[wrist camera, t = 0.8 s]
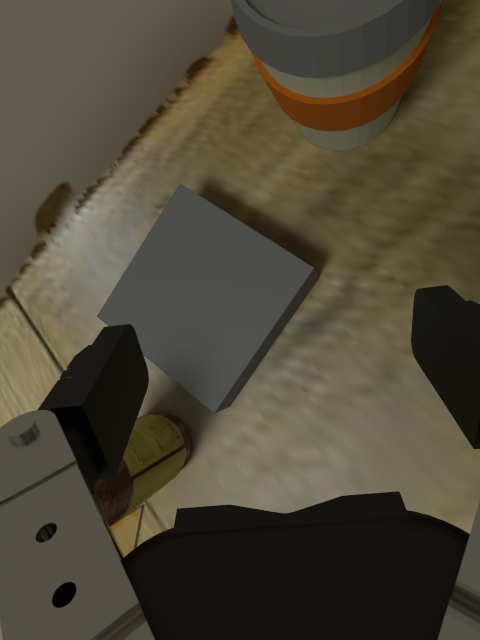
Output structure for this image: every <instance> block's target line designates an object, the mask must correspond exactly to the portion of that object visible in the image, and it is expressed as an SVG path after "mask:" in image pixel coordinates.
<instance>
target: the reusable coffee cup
mask: <svg viewBox="0 0 480 640" xmlns="http://www.w3.org/2000/svg"><path fill="white" fill-rule="evenodd" d="M441 2H442V0H231V3H232V7H233V11H234V15H235V19H236V22H237V25H238V28H239V31H240V34H241V37H242V38H243V40H244V41H245V43H246V44H247V46H248V47H249V49H250V50H251V52H252V54H253V57H254V59H255V62H256V65H257V68H258V69H259V71H260V73H261V75H262V76H263V78H264V80H265V81H266V83H267V85H268V87H269V88H270V90H271V92H272V93H273V95H274V97H275V99H276V100H277V102H278V103H279V105H280V107H281V108H282V110H283V111H284V112H285V113H286V114H287V115H288V116H289V117H290V118H291V119H292V120H294V121H295V123H296V125H297V127H298V129H299V130H300V132H301V133H302V135H303V136H304V137H305V138H306V139H307V140H308V141H309V142H311V143H312V144H314V145H316V146H317V147H320V148H323V149H326V150H333V151H342V150H349V149H353V148H357V147H359V146H362V145H364V144H366V143H368V142H370V141H371V140H373V139H374V138H376V137H377V136H378V135H379V134H380V133H381V132H382V131H383V130H384V129H385V128H386V127H387V125H388V124H389V123H390V121H391V120H392V118H393V116H394V114H395V112H396V110H397V107H398V104H399V102H400V99H401V97H402V96H403V95H404V93H405V92H406V91H407V89H408V88H409V87H410V85H411V83H412V81H413V79H414V77H415V75H416V73H417V71H418V68H419V66H420V63H421V61H422V58H423V56H424V54H425V51H426V49H427V46H428V44H429V41H430V39H431V36H432V34H433V31H434V29H435V26H436V23H437V19H438V16H439V12H440V8H441Z"/></svg>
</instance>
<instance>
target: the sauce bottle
mask: <svg viewBox="0 0 480 640" xmlns="http://www.w3.org/2000/svg"><path fill="white" fill-rule="evenodd" d="M189 452H190V437H189V434H188V431H187V430H186V428H185V427H184V426H183V424H182V423H181V422H180V421H179V420H178V419H177V418H176V417H174V416H172V415H170V414H165V413H152V414H148V415H144V416H141V417H139V418H137V419H136V422H135V425H134V427H133V430H132V433H131V436H130V438H129V441H128V444H127V447H126V450H125V452H124V455H123V458H122V461H121V463H120V466H119V469H118V472H117V475H116V477H115V479H105V480H97V481H96V483H95V486H94V488H93V492H94V494H95V496H96V498H97V500H98V502H99V504H100V506H101V508H102V511H103V513H104V515H105V517H106V519H107V521H108V523H109V526H110V527H111V526H113V525H115V524H116V523H118V522H119V521H120V520H122V519H123V518H124V517H125V516H127V515H128V514H129V513H130V512H132V511H133V510H134V509H136V508H137V507H138V506H139V505H141V504H142V503H143V502H145V501H146V500H147V499H148V498H150V497H151V496H152V495H153V494H155V493H156V492H157V491H158V490H160V489H161V488H162V487H163V486H165V485H166V484H167V483H168V482H170V481H171V480H172V479H173V478H175V477H176V476H177V475H178V473H179V472H180V471H181V470H182V469H183V468H184V467H185V465H186V463H187V461H188V458H189Z"/></svg>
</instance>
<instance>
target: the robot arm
mask: <svg viewBox="0 0 480 640" xmlns="http://www.w3.org/2000/svg"><path fill="white" fill-rule="evenodd" d="M411 344H412V350H413V354H414V357H415V359H416V361H417V362H418V364H419V365H420V367H421V368H422V370H423V372H424V373H425V375H426V376H427V378H428V379H429V381H430V382H431V384H432V385H433V387H434V389H435V390H436V392H437V393H438V395H439V396H440V398H441V399H442V401H443V402H444V404H445V405H446V407H447V409H448V410H449V412H450V413H451V415H452V416H453V418H454V419H455V421H456V422H457V424H458V425H459V427H460V429H461V430H462V432H463V433H464V435H465V436H466V438H467V439H468V441H469V442H470V444H471V445H472V447H473V449H480V304H478V303H475V302H473V301H471V300H470V301H465V300H464V299H463V298H462V297H460V296H459V295H458V294H457V293H456V292H455V291H454V290H453V289H452V288H451V287H449V286H447V285H445V286H437V287H429V288H421V289H417V290H416V292H415V296H414V306H413V320H412V334H411ZM148 382H149V376H148V369H147V365H146V362H145V359H144V356H143V353H142V350H141V347H140V344H139V341H138V338H137V335H136V332H135V329H134V327H133V326H132V325H131V324H124V325H116V326H108V327H104V328H103V329H102V331H101V332H100V334H99V335H98V337H97V338H96V340H95V341H94V343H93V344H92V345H88V346H87V347H86V348H85V349H83V350H82V351H81V352H80V353H78V354H77V355H76V356H75V357H74V358H73V360H72V361H71V362H70V364H69V365H68V367H67V370H65V371H64V373H63V374H62V375H61V377H60V380H58V381H57V383H56V384H55V385H54V387H53V388H52V390H51V391H50V393H49V394H48V396H47V397H46V398H45V400H44V401H43V403H42V404H41V406H40V407H39V409H38V410H37V411H32V412H28V413H25V414H22V415H20V416H18V417H16V418H14V419H12V420H11V421H9V422H7V423H6V424H5V425H3V426H2V427H1V428H0V622H1V629H2V637H3V640H480V502H479V505H478V509H477V512H476V515H475V519H474V522H473V526H472V529H471V532H470V534H469V533H467V532H465V531H464V530H462V529H460V528H458V527H456V526H454V525H452V524H450V523H448V522H445V521H443V520H440V519H437V518H435V517H432V516H429V515H425V514H422V513H418V512H414V511H408V510H406V508H405V505H404V502H403V500H402V497H401V495H400V492H386V493H373V494H360V495H348V496H341V497H338V498H335V499H332V500H329V501H326V502H322V503H319V504H316V505H313V506H310V507H307V508H304V509H301V510H298V511H295V512H292V513H285V514H284V513H276V512H270V511H264V510H258V509H252V508H246V507H240V506H235V505H219V506H206V507H193V508H181V509H177V513H176V518H175V524H174V528H171V529H168V530H166V531H164V532H162V533H159V534H157V535H155V536H153V537H152V538H150V539H148V540H147V541H145V542H143V543H142V544H140V545H139V546H138V547H136V548H135V549H133V550H132V551H131V552H130V553H128V554H127V555H126V556H125V557H124V556H123V553H122V551H121V549H120V547H119V545H118V543H117V541H116V538H115V536H114V534H113V532H112V530H111V528H110V526H109V523H108V521H107V519H106V517H105V515H104V513H103V511H102V508H101V506H100V504H99V502H98V500H97V498H96V496H95V494H94V492H93V488H94V486H95V483H96V481H97V480H105V479H115V477H116V475H117V472H118V469H119V466H120V463H121V461H122V458H123V455H124V452H125V450H126V447H127V444H128V441H129V438H130V436H131V433H132V430H133V427H134V425H135V422H136V419H137V416H138V413H139V411H140V408H141V405H142V402H143V399H144V397H145V394H146V391H147V388H148Z"/></svg>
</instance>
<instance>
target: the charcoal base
mask: <svg viewBox="0 0 480 640" xmlns="http://www.w3.org/2000/svg"><path fill="white" fill-rule="evenodd" d="M318 278H319V276H318V274H317V272H316V270H315V269H314V267H312V266H310V265H309V264H307V263H306V262H304V261H302V260H301V259H299V258H298V257H296V256H295V255H293V254H291V253H290V252H288V251H287V250H285V249H283V248H282V247H280V246H279V245H277V244H275V243H274V242H272V241H271V240H269V239H268V238H266V237H264V236H263V235H261V234H260V233H258V232H256V231H255V230H253V229H252V228H250V227H248V226H247V225H245V224H244V223H242V222H241V221H239V220H237V219H236V218H234V217H233V216H231V215H229V214H228V213H226V212H225V211H223V210H222V209H220V208H218V207H217V206H215V205H214V204H212V203H210V202H209V201H207V200H206V199H204V198H202V197H201V196H199V195H198V194H196V193H195V192H193V191H191V190H190V189H188V188H187V187H185V186H183V185H182V184H179V186H178V187H177V189H176V191H175V192H174V194H173V195H172V197H171V199H170V200H169V202H168V203H167V205H166V207H165V208H164V210H163V211H162V213H161V215H160V216H159V218H158V219H157V221H156V223H155V224H154V226H153V227H152V229H151V231H150V232H149V234H148V235H147V237H146V239H145V240H144V242H143V243H142V245H141V247H140V248H139V250H138V251H137V253H136V255H135V256H134V258H133V259H132V261H131V263H130V264H129V266H128V267H127V269H126V271H125V272H124V274H123V275H122V277H121V279H120V280H119V282H118V283H117V285H116V287H115V288H114V290H113V291H112V293H111V295H110V296H109V298H108V299H107V301H106V303H105V304H104V306H103V307H102V309H101V311H100V312H99V314H98V315H97V317H98V318H99V319H101V320H102V321H103V322H104V323H105V324H107V325H108V326H116V325H124V324H131V325H132V326H133V327H134V329H135V332H136V335H137V338H138V341H139V344H140V347H141V350H142V353H143V355H144V356H145V357H146V358H148V359H149V360H150V361H151V362H153V363H154V364H155V365H156V366H157V367H159V368H160V369H161V370H162V371H163V372H165V373H166V374H167V375H168V376H169V377H171V378H172V379H173V380H174V381H175V382H177V383H178V384H179V385H180V386H182V387H183V388H184V389H185V390H186V391H188V392H189V393H190V394H191V395H192V396H194V397H195V398H196V399H197V400H198V401H200V402H201V403H202V404H203V405H204V406H206V407H207V408H208V409H209V410H210V411H212V412H213V413H216V412H218V411H221V410H223V409H225V408H228V407H230V405H231V404H232V403H233V401H234V400H235V398H236V397H237V395H238V394H239V392H240V391H241V390H242V388H243V387H244V385H245V384H246V382H247V381H248V379H249V378H250V377H251V375H252V374H253V372H254V371H255V369H256V368H257V366H258V365H259V363H260V362H261V361H262V359H263V358H264V356H265V355H266V353H267V352H268V350H269V349H270V348H271V346H272V345H273V343H274V342H275V340H276V339H277V337H278V336H279V335H280V333H281V332H282V330H283V329H284V327H285V326H286V324H287V323H288V321H289V320H290V319H291V317H292V316H293V314H294V313H295V311H296V310H297V308H298V307H299V306H300V304H301V303H302V301H303V300H304V298H305V297H306V295H307V294H308V293H309V291H310V290H311V288H312V287H313V285H314V284H315V282H316V281H317V280H318Z"/></svg>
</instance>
